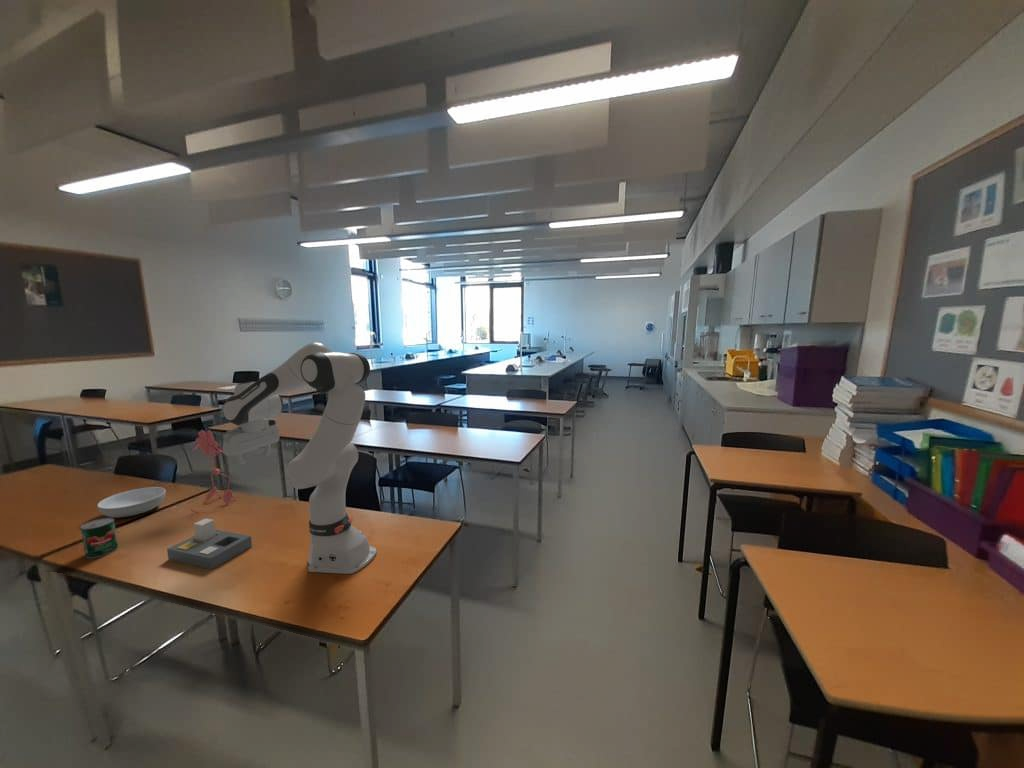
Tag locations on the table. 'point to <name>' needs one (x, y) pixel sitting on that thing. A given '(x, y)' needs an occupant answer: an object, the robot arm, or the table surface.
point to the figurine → (209, 445)
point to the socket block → (210, 549)
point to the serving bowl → (132, 502)
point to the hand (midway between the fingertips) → (254, 459)
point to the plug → (204, 530)
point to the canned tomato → (99, 537)
